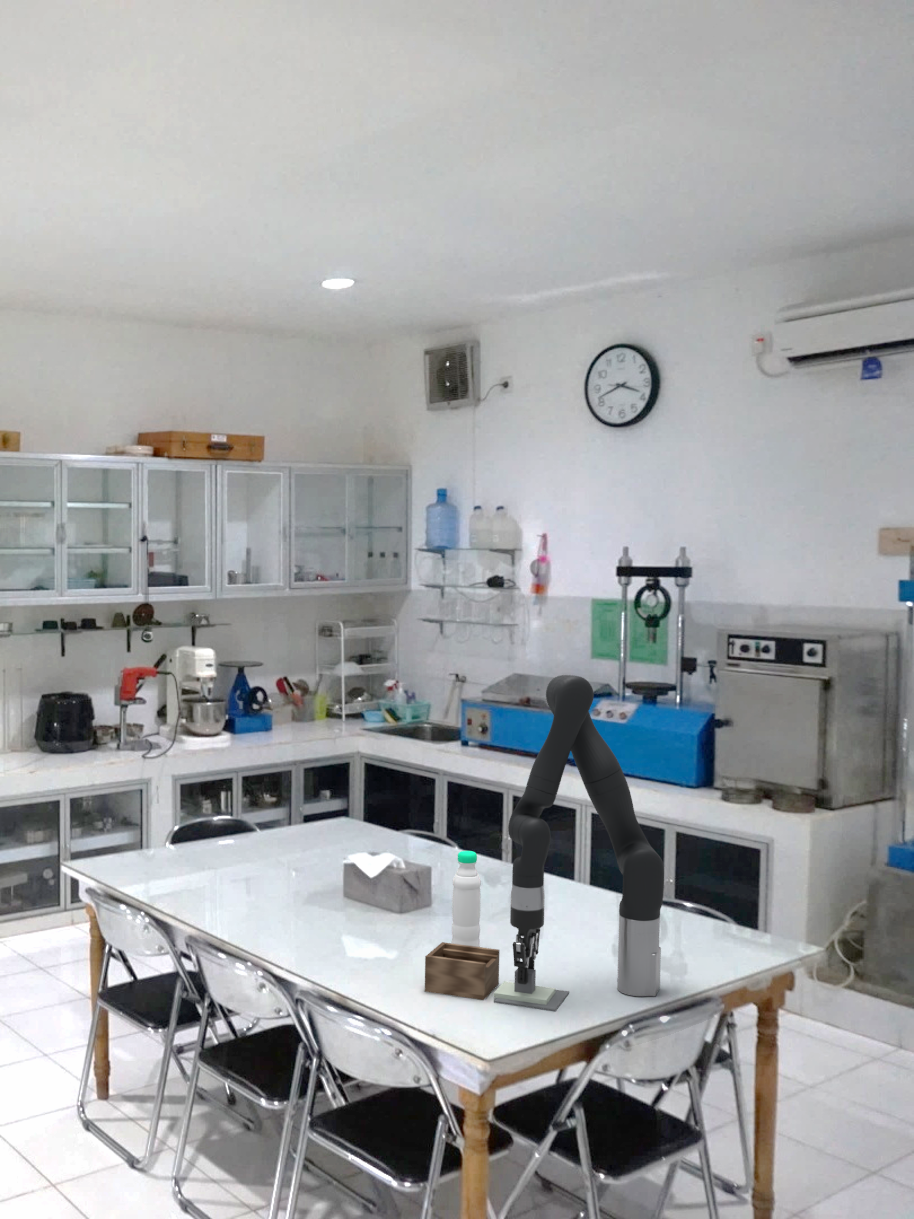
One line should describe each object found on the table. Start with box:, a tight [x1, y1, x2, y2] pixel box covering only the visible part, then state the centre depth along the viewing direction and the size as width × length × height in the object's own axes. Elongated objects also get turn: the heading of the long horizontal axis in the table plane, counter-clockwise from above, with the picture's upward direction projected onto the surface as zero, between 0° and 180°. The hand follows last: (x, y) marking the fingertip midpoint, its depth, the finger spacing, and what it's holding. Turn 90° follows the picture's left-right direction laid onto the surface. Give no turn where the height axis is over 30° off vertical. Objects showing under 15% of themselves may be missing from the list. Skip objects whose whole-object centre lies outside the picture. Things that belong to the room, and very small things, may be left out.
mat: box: [493, 988, 570, 1012], centre depth 272 cm, size 14×12×1 cm
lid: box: [493, 968, 556, 1005], centre depth 273 cm, size 12×8×6 cm, turn 71°
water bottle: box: [451, 850, 482, 947], centre depth 302 cm, size 7×7×25 cm
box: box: [424, 941, 500, 1001], centre depth 278 cm, size 14×11×8 cm
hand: (525, 979), depth 273 cm, fingers open, 4 cm apart
